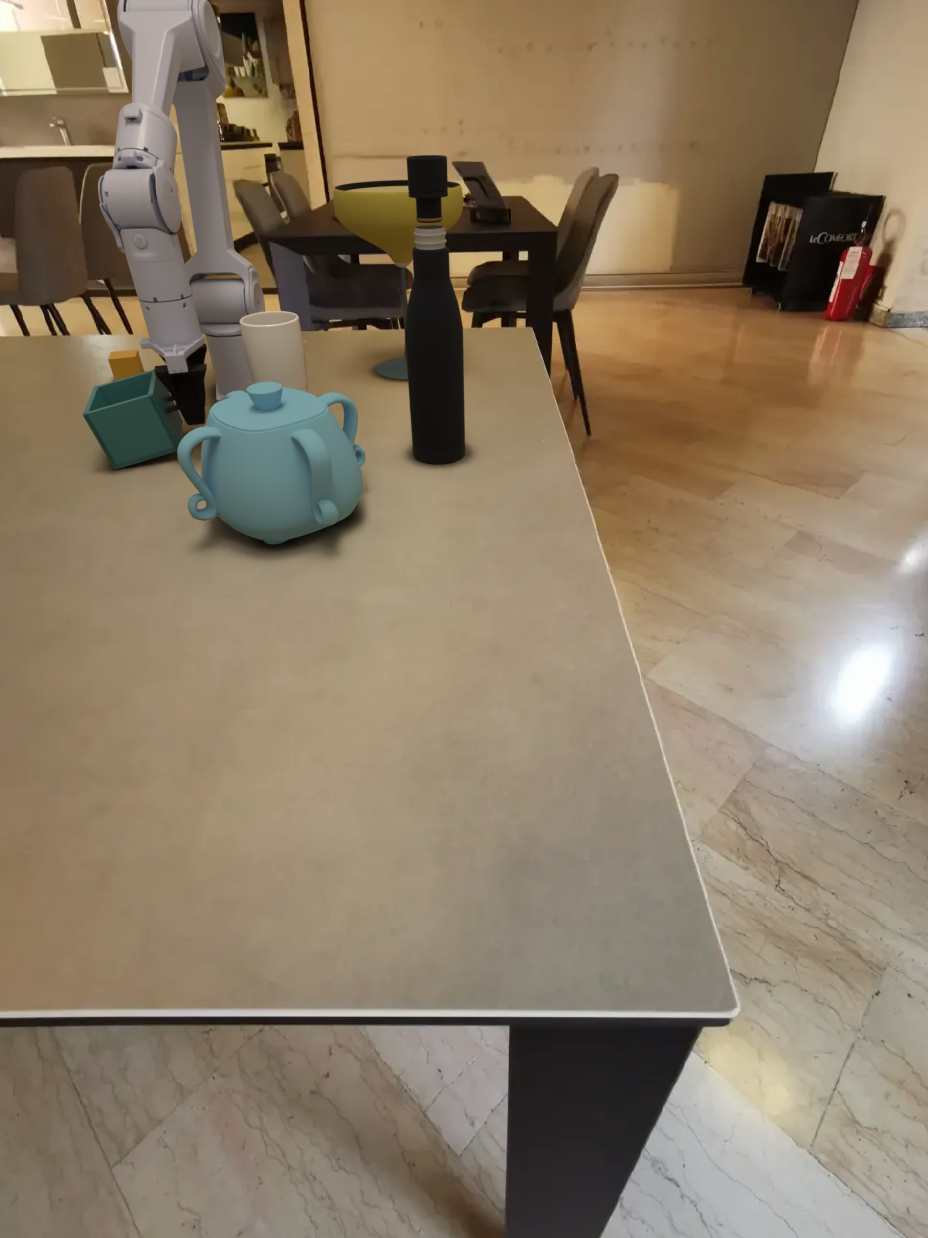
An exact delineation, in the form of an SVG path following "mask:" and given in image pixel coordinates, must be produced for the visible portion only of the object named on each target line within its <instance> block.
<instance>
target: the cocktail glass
mask: <svg viewBox="0 0 928 1238" xmlns="http://www.w3.org/2000/svg"><path fill="white" fill-rule="evenodd" d="M408 192H409V191H408V179H389V180H388V179H387V180H385V179H384V180H372V181H371V180H370V181H369V180H368V181H359V182H351V183H343V184H339V185H336V186H334V188H333V192H332V196H333V197H332V198H333V199H332V201H333V209H334V213H335V216H336V219H337V220H338V221H339V223H340V224H341V225H342V226H343V227H345V229H346V230H348V231H349V232H351V233H352V234H354V235H356V236H357V237H359V238H360V239H363V240H365V242H368V243H370V244H372V245H374V246H376V247H377V248H379V249H380V250H382V251H384V252H385V254H387V255H388V257H389V258H390V259H391V261H392V262H393V263H394V265H395V266H396V267H397V268H400V275H401V276H400V277H401V292H402V307H403V327H404V328H403V329H404V330H405V322H406V313H407V305H408V297H407V282H406V281H407V280H406V279H407V278H406V268H407V267H409V266H410V264H411V263H413V254H412V250H413V248H414V247H416V244H415V243H414V240H415V235H414V234H413V233H414V232H415V227H417V226H422V225H441V226H444V227H445V231H446V232H448V231H449V230H450V229H452V227H453V226H454V225H455V224H456V223H457V222H458V221H459V220H460V218H461V216H462V213H463V209H464V193H463V188H462V185H461V183H459V182H455V181H451V180H448V196H447V197H442V198H441V209H442V217H443V219H442V221H441V222H436V223H420V222H417V220H416V217H417V212H416V198H410V197H409V193H408ZM375 373H376V374H377V375H378V376H380V377H382V378H384V379H388V380H393V381H394V380H395V381H408V372H407V357H406V343H405V342H404V353H403V357H399V358H394V359H389V360H386V361H383V362H380V363H379V364H378V365H377V366H376V367H375Z"/></svg>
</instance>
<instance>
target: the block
mask: <svg viewBox="0 0 928 1238" xmlns="http://www.w3.org/2000/svg"><path fill="white" fill-rule="evenodd" d="M107 361H108V364H109V368H110V370H111V372H112V376H113V379H114V381H116V380H119V379H123V378H126V377H130V376H133V375H137V374H140V373H144V372H145V369H144V366H143V362H142V359H141V355H140V353H139V350H138V349H137V348H135V349H127V350H126V349H125V350H116V351H110V353H109V355H108V357H107Z"/></svg>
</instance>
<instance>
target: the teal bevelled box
mask: <svg viewBox="0 0 928 1238" xmlns="http://www.w3.org/2000/svg"><path fill="white" fill-rule="evenodd" d="M82 417H83V418H84V421H85V422H86V423H87V426H88V427H89V429H90V430H91V433H92V434H93V436H94V438H95V439H96V441H97V442H98V444H99V446H100V447H101V449H102V451H103V453H104V455H105V456H106V458H107V460H108V461H109V463H110V465H111V467H112V468H113V470H114V471H116V470H119V469H122V468H125V467H130V466H132V465H136V464H139V463H142V462H145V461H149V460H152V459H156V458H159V457H162V456H165V455H169V454H172V453H177V450H178V446H179V443H180V442H181V440H182V438H183V437H182V435H183V422H184V419H183V417H182V415H181V413H180V411H179V409H178V407H177V405H176V403H175V401H174V399H173V397H172V396H171V394H170V393H169V391H168V390H167V388H166V387H165V386H164V385H163V384H162V383H161V382H160V381H159V380H158V378H157V377H156V375H155V372H154V369H151V370H147V371H144V373H140V374H137V375H133V376H130V377H126V378H123V379H119V380H116V381H115V380H113V381H110V382H106V383H102V384H99V385H96V386H93V387H92V390H91V392H90V396H89V398H88V400H87V403H86V405H85V408H84V410H83V412H82Z"/></svg>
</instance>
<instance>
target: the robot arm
mask: <svg viewBox="0 0 928 1238" xmlns="http://www.w3.org/2000/svg"><path fill="white" fill-rule="evenodd" d="M116 15H117V26H118V29H119V33H120V37H121V40H122V43H123V46H124V48H125V50H126V52H127V54H128V55H129V58H130V60H131V67H132V68H131V102H130V103H127V104H126V105H124V106H123V107H122V108H121V109H120V111H119V114H118V119H117V128H116V136H115V145H114V152H113V159H112V167H111V168H109V169H107V170H105V173H104V175H101V176H100V177H99V179H98V185H97V192H98V199H99V208H100V211H101V213H102V216H103V218H104V220H105V222H106V224H107V226H108V227H109V228H110V230H111V232H112V235H113V236H114V239H115V242H116V246H117V248H119V251H120V252H121V253H123V254H125V258H126V261H127V265H128V268H129V271H130V274H131V275H130V276H131V278H132V281H133V282H132V283H133V286H134V289H135V293H136V296H137V299H138V302H139V306H140V309H141V313H142V317H143V319H144V323H145V327H146V330H147V333H148V337H145V338H141V339H140V341H139V345H140V348H141V349H142V350H148V349H149V350H152V351H154V352H155V353H157V354H158V356H159V357H160V358H161V359H162V362H164V363H165V364H162V365H161V364H160V365H155V366H154V369H153V370H154V372H155V375H156V377H157V378H158V380H159V381H160V382H161V383H162V384H163V385H164V386H165V387H166V388H167V390H168V391H169V393H170V395H171V396H172V397H173V399H174V403H175V404H176V405H177V407H178V409H179V410H178V412H179V414H180V416H181V418H182V419H183V421H184V422H185V424H186V425H187V427H189V426H198V425H206V403H207V402H206V401H207V399H206V398H207V397H206V385H205V384H206V383H205V378H206V373H207V368H208V365H207V363H205V361H206V355H207V351H208V352H209V357H210V359H211V360H210V361H211V365H212V368H213V373H214V378H215V381H216V383H215V399H216V403H217V402H219V401H222V400H224V398H225V396H226V395H227V394H229V393H230V392H233V391H244V392H246V393H247V390H246V389H247V388H248V387H249V386H251V385H253V384H254V383H253V379H252V376H251V372H250V369H249V366H248V362H247V358H246V354H245V350H244V345H243V340H242V334H241V328H240V319H241V318H243V317H244V316H247V315H250V314H254V313H259V312H266V302H265V301H266V300H265V296H264V292H263V289H262V286H261V281H260V276H259V271H258V269H257V268H256V266H255V265H254V264H253V263H252V262H251V261H249V260H248V259H246V258H245V257H243V256H242V255H241V254H239V253H238V252H237V251H236V249H235V244H234V238H233V236H234V235H233V230H232V222H231V214H230V213H231V212H230V206H229V198H228V192H227V184H226V175H225V168H224V161H223V154H222V146H221V140H220V139H221V138H220V132H219V131H220V130H219V123H218V110H217V109H218V108H217V100H218V98H220V97H221V96H222V95H223V94H224V93H225V92H227V85H226V79H227V75H226V74H227V73H226V67H225V60H224V59H225V58H224V50H223V44H222V35H221V32H220V28H219V25H218V21H217V18H216V15H215V11H214V9H213V7H212V5H211V3H210V2H209V1H208V0H119V1H118V4H117V9H116ZM172 106H173V107H174V110H175V114H176V115H175V116H176V122H177V127H178V128H177V129H178V132H177V130H176V126H175V125H174V123H173V122H172V121H171V119H170V115H171V111H172ZM178 136H179V137H178ZM178 138H179V143H180V148H181V154H182V162H183V168H184V174H185V179H186V188H187V194H188V201H189V207H190V213H191V220H192V227H193V233H194V240H195V246H196V251H195V252H194V254H193V255H192V256H191V257H190V258H189V259H188V261H186V262H185V260H184V256H183V252H182V247H181V244H180V239H179V235H178V231H179V230H180V228H181V222H182V210H181V208H182V207H181V203H180V197H179V185H178V183H177V181H176V179H175V168H176V157H177V148H178ZM210 276H239V277H229V278H228V277H227V278H226V277H224V278H223V277H222V278H221V277H220V278H218V277H217V278H216V277H215V278H207V277H210Z"/></svg>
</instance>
